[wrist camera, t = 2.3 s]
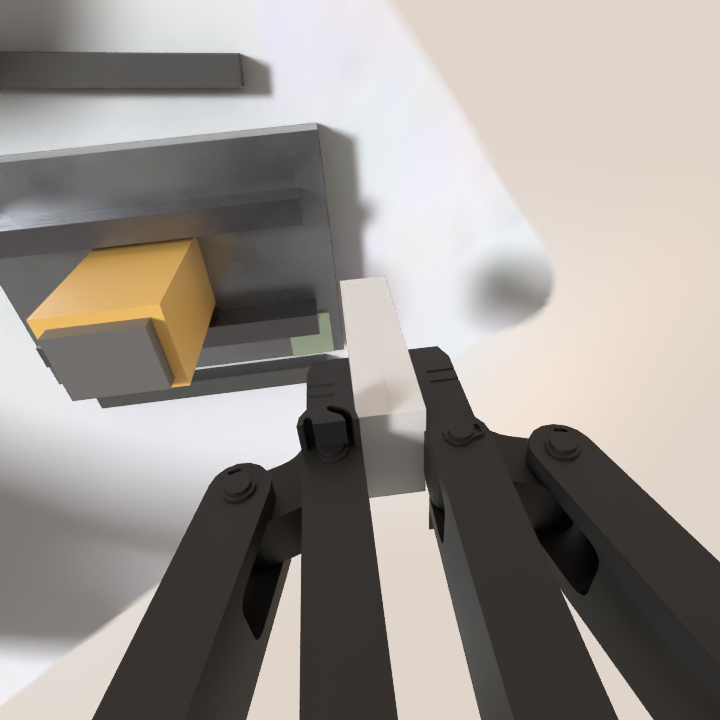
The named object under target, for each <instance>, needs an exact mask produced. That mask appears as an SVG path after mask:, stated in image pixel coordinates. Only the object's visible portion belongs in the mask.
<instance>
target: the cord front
mask: <svg viewBox="0 0 720 720" xmlns="http://www.w3.org/2000/svg"><path fill="white" fill-rule="evenodd" d="M243 85H244V84H243V76H242V67H241V59H240V53H106V52H0V88H241V87H242V86H243Z"/></svg>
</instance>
